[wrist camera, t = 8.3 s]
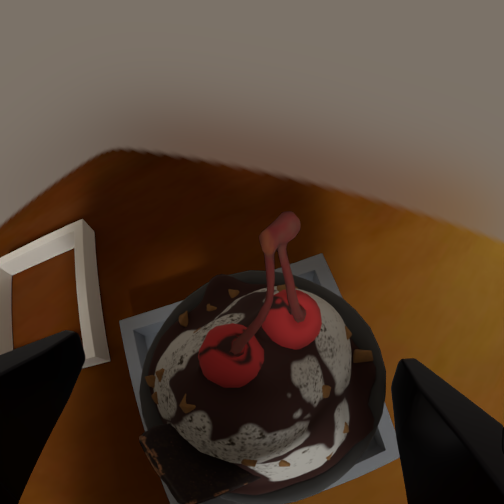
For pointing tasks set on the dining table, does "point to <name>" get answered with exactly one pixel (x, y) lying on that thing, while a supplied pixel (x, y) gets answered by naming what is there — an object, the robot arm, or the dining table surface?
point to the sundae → (260, 386)
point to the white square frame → (86, 282)
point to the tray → (149, 323)
